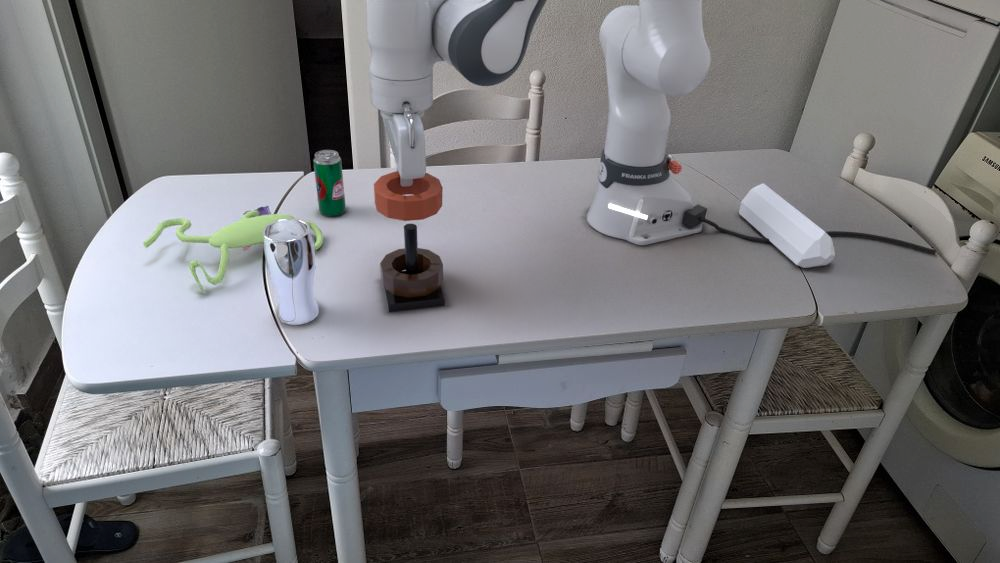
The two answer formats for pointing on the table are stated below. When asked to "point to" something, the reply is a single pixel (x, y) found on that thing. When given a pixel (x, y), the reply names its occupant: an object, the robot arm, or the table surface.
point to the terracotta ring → (408, 197)
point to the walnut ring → (411, 283)
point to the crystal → (787, 228)
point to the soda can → (329, 183)
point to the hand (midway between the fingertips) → (404, 179)
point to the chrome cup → (292, 269)
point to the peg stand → (411, 265)
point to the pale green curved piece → (229, 237)
